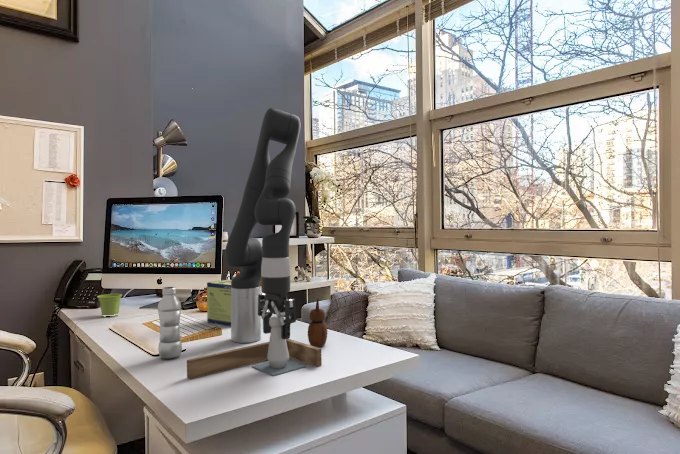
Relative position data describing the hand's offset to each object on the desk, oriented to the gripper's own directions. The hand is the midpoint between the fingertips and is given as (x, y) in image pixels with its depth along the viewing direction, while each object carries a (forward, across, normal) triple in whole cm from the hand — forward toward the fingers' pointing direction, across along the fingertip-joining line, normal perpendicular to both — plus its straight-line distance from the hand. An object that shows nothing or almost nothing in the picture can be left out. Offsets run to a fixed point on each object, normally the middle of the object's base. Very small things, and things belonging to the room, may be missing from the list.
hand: (276, 335), depth 121 cm
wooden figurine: (+8, +9, -21) cm, 25 cm away
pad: (+8, 0, 0) cm, 8 cm away
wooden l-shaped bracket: (+8, +1, +6) cm, 10 cm away
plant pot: (+10, +106, +12) cm, 107 cm away
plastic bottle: (+9, +28, +17) cm, 34 cm away
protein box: (+9, +59, -19) cm, 62 cm away
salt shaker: (+8, 0, 0) cm, 8 cm away
